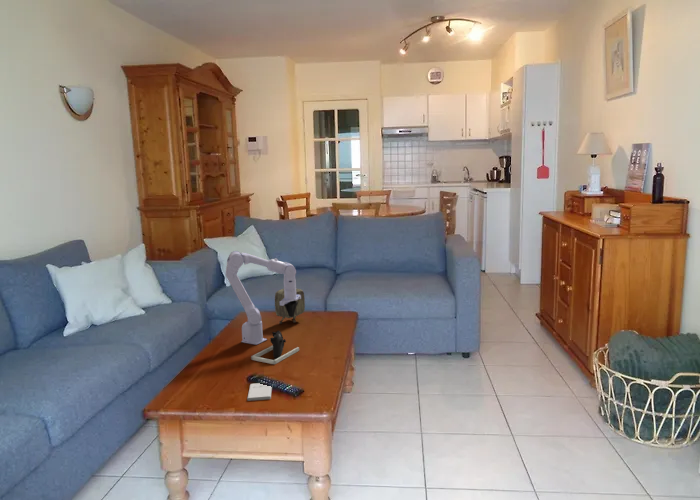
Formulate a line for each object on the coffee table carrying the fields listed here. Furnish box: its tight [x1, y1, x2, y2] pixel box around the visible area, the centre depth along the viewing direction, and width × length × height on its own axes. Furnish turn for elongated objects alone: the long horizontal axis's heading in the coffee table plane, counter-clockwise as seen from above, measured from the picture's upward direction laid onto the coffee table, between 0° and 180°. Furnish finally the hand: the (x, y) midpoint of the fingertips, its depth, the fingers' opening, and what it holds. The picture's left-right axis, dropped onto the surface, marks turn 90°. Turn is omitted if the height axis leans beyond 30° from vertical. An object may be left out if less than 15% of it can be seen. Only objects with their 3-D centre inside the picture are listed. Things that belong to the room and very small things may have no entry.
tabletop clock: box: [274, 287, 306, 325], centre depth 273 cm, size 14×9×25 cm, turn 144°
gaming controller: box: [269, 330, 287, 360], centre depth 228 cm, size 14×6×10 cm, turn 2°
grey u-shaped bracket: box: [250, 344, 300, 365], centre depth 228 cm, size 13×18×2 cm
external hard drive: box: [247, 382, 273, 402], centre depth 191 cm, size 2×8×12 cm
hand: (291, 316), depth 249 cm, fingers closed
